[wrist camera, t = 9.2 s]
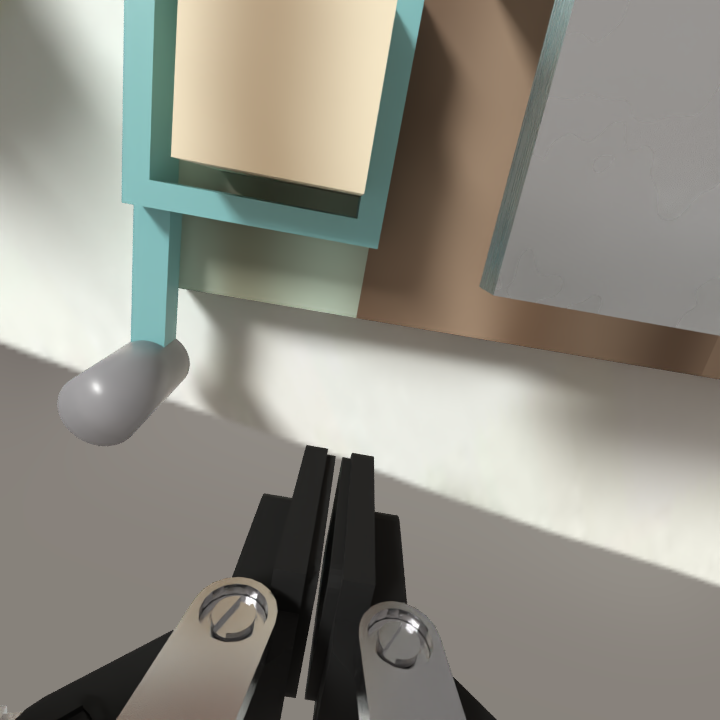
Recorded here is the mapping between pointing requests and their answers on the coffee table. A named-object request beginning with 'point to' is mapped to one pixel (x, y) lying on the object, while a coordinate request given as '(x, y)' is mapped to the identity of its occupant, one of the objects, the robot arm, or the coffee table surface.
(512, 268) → the tunnel
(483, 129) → the track board
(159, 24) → the frame
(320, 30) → the block
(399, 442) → the coffee table surface
